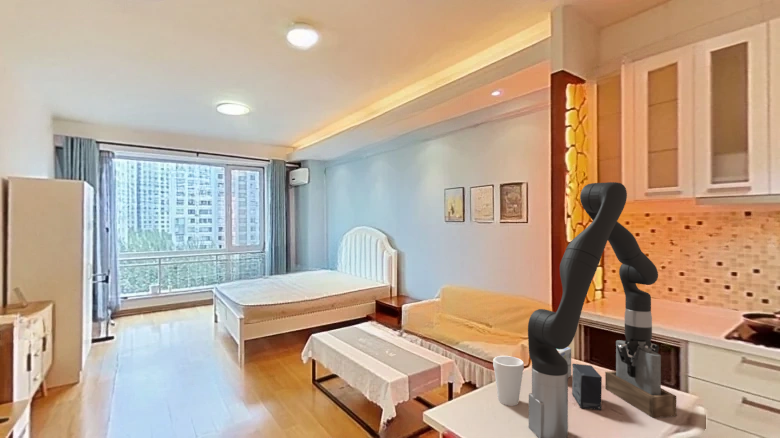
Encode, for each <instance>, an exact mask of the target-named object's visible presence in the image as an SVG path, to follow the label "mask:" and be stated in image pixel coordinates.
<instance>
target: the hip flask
mask: <svg viewBox="0 0 780 438" xmlns="http://www.w3.org/2000/svg"><path fill="white" fill-rule="evenodd" d="M625 341H626V340H622V339H621V340H620V339H619V340H618V339H617V340H616V341H615V346H616V347H615V348H616V349H615V352H616V353H615V371H616V376H618V377H620V378H621V379H623V380H625V381H627V382H629V383H631V384H633V385H634V386H636V387H638V388H640V389H642V390H644V391H646V392H647V393H649V394H651V395H653V396H654V395H661V387H662V386H661V385H662V383H661V381H662V369H661V367H662V355H661V354H660V353H659V352H658V353H656V352H654V351H652V350H650V349H648V348H644V344H646V341H638V344H639V346H641V350H640V351H639V356H638V359H637V360H636V363H635V377H634V378H632V377H630V376H629V375H628V373H627V364H626V363H624V362H622V361H621V358H620V355H619V352H618V349H617V345H623V344H625ZM627 350H628V349H627ZM632 355H633V354H632ZM633 356H634V355H633ZM631 360H632V358H631Z"/></svg>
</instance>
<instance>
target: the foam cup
mask: <svg viewBox="0 0 780 438" xmlns="http://www.w3.org/2000/svg"><path fill="white" fill-rule="evenodd" d="M492 359H493V360H492V365H493V367H492V368H493V370H494V380H495V385H496V395H497V400H498V402H499V403H500V404H502V405H504V406H505V405H506V406H510V407H511V406H517V405H518V404H519V401H520V394H521V389H522V388H521V386H522V381H523V380H522V379H523V374H524V369H525V367H524V361H523V360H522V359H520V358H519V357H515V356H509V355H498V356H495V357H494V358H492Z"/></svg>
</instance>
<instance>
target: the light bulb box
mask: <svg viewBox="0 0 780 438" xmlns="http://www.w3.org/2000/svg"><path fill="white" fill-rule="evenodd" d="M556 349H557V348H556ZM557 351H558V352H559V353H560V355H561V356H562V357H563V358H564V359H565V360H566V361H567V363H568V378H570V377H572V347H570V346H568V347H567V348H565V349H557Z"/></svg>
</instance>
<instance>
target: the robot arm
mask: <svg viewBox="0 0 780 438" xmlns="http://www.w3.org/2000/svg"><path fill="white" fill-rule="evenodd" d="M579 195H580V196H579V200H580V205H581V206H582V208H583V210H584V211H585V213H586V214H587V215H588V216H589V218H590V219H591V220H592V222H591V223H590V224H589V225H588V226H587V227H586V228H585V229H584V230H582V231H580V232H579V234H577V235H576V236H575V237H574V238H573V239H572V240H571V241H570V242H569V243H568V245H567V246H566V248H565V251H564V253H563V256H562V258H561V260H560V263H559V277H560V281H561V287H562V295H561V299H560V302H559V305H558V308H557V310H556V311H551V310H550V309H549V310H548V309H545V308H537V309H536V310H534V311H533V312H532V313H531V315H530V317H529V318H528V323H527V324H528V325H527V338H528V339H527V341H528V354H529V355H528V356H529V358H530V361H531V393H528V428H529V429H530V430H531V431H532V432H533V434H535V435H536V436H537V438H568V436H569V433H568V432H569V396H568V395H569V377H568V363H567V361H566V360H565V359H564V358H563V357H562V356H561V355H560V353H559V352H558V351H557V349H565V348H567V347H570V345H571V344H572V342H573V340H574V338H575V337H576V334H577V333H576V332H577V331H578V330H577V329H578V325H579V323H580V319H581V314H582V312H583V309H584V304H585V300H586V298H587V296H588V292H589V289H590V286H591V284H592V281H593V279H594V277H595V275H596V272H597V270H598V268H599V266H600V265H599V264H600V262H601V259H602V256H603V253H604V251H605V249H606V245H607V243H609V245H610V246H611V248H612V250H613V252H614V255H615V256H616V258H617V261H619V262H620V263H621V265H620V267H619V270H618V275H619V278H620V282H621V285H622V289H623V291H624V296H625V297H624V298H625V301H624V302H625V310H624V311H625V312H624V336H625V337H624V338H625V340H624V341H625V344H623V345H617V349H618V352H619V355H620V358H621V361H622V362H624V363H626V364H627V373H628V375H629V376H630V377H632V378H634V377H635V363H636V360H637V359H638V356H639V351H640V350H641V346H639V344H638V341H646V344H644V348H648V349H650V350H652V351H654V352H656V353H658V354H659V349H660V346H659V345H658V344H655V343H652V341H651V340H652V339H653V316H652V315H653V314H652V296H651V294H650V293H649V292H646V291H644V290H641V289H639V287H638V286H637V284H638V285H644V286H651V285H653V284H655V283H656V282H657V280H658V279H659V278H658V277H659V272H658V269H657V267H656V265H655V263H653V261H652V260H651V259H650V258H649V257H648V256H647V255H646V254H645V253H644V252H643V251H642V249H641V247H640V245H639V243H638V241H637V239H636V237H635V236H634V234H633V233H632V232H631V231H630V230H629V229H628V228H626V227H625V226H624V225H622V224H621V223H620V222H619V221H618V220H619V219H620V216H621V215H622V212H623V211H624V208H625V206H626V202H627V197H628V192H627V188H626V187H625V185H624V184H623V183H621V182H617V181H615V182H614V181H613V182H611V181H610V182H609V181H608V182H592V183H588V184H586V185H584V187H583V188H582V189H581V191H580V194H579ZM556 348H557V349H556ZM627 349H628V350H627ZM632 354H633V355H634V356H633V355H632ZM631 358H632V360H631Z"/></svg>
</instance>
